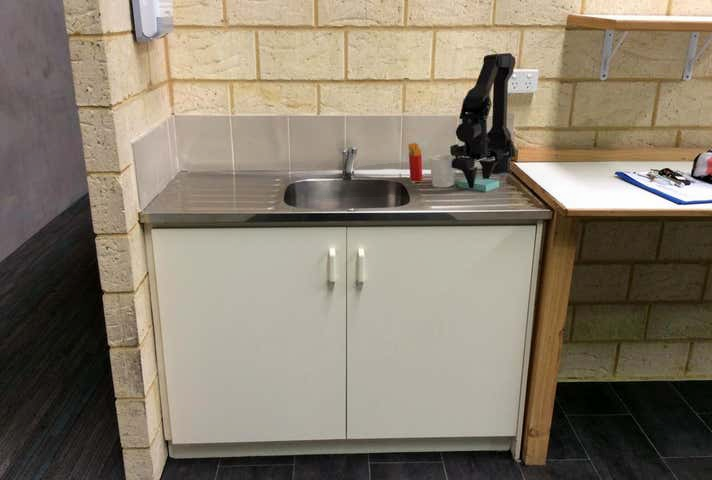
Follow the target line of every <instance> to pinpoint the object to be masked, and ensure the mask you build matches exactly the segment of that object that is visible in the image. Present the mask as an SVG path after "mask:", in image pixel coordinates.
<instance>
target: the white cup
mask: <svg viewBox="0 0 712 480" xmlns="http://www.w3.org/2000/svg"><path fill="white" fill-rule="evenodd" d="M453 159H455V156H452V155H451V154H439V155H438V154H436V155H432V156H430V157H429V165H430V175H431V180H432V181H431V182H432V187H436V188H447V187H452V186H454V183H455V182H454V181H455V168H452V164H451V161H452V160H453Z"/></svg>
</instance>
